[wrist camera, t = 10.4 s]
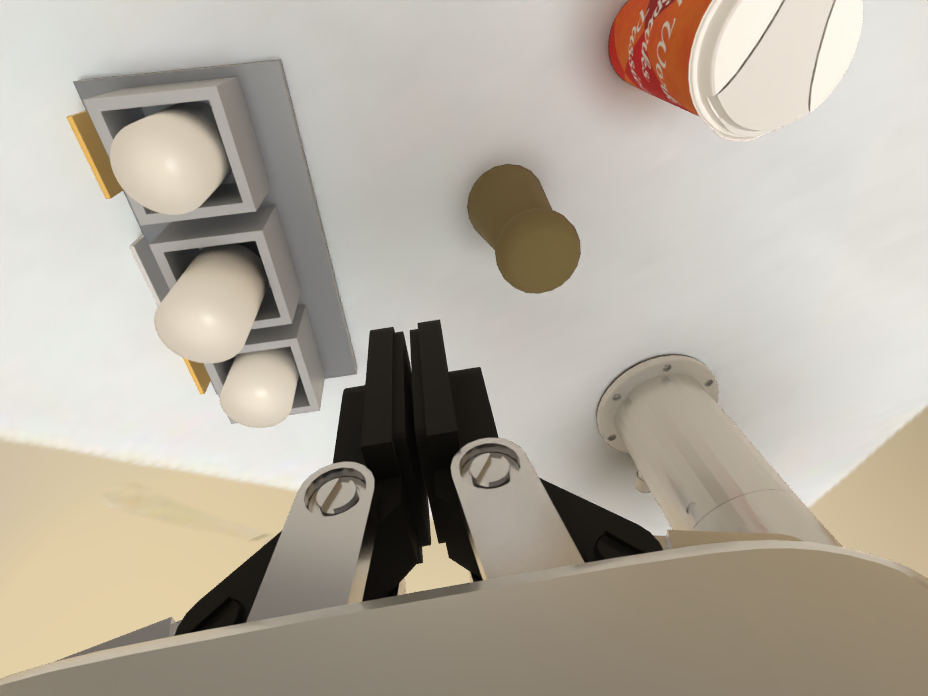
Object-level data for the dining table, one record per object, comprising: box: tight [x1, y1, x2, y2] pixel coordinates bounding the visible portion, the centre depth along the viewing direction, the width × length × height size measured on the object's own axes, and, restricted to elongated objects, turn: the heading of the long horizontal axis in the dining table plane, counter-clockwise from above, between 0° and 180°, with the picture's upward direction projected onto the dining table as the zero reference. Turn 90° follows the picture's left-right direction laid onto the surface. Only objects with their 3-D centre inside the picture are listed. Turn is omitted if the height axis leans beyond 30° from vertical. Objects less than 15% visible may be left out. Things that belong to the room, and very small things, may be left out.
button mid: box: [154, 243, 269, 363], centre depth 31 cm, size 5×5×7 cm
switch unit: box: [67, 60, 357, 424], centre depth 35 cm, size 24×12×6 cm, turn 5°
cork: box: [467, 164, 581, 293], centre depth 34 cm, size 6×6×11 cm
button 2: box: [220, 346, 299, 428], centre depth 38 cm, size 5×5×7 cm
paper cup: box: [608, 0, 863, 141], centre depth 28 cm, size 8×8×14 cm
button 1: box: [110, 101, 232, 215], centre depth 29 cm, size 5×5×7 cm
